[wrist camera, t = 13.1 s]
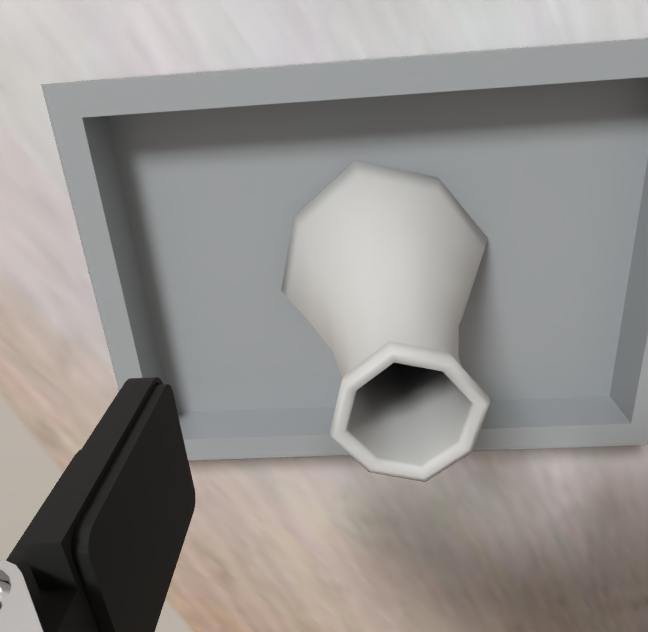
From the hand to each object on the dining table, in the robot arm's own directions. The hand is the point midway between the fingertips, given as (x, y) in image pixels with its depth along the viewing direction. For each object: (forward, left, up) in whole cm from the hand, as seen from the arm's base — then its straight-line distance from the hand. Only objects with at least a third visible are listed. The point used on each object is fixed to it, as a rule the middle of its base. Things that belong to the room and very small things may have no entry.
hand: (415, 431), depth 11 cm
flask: (0, 0, -11) cm, 11 cm away
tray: (+1, 0, -12) cm, 12 cm away
